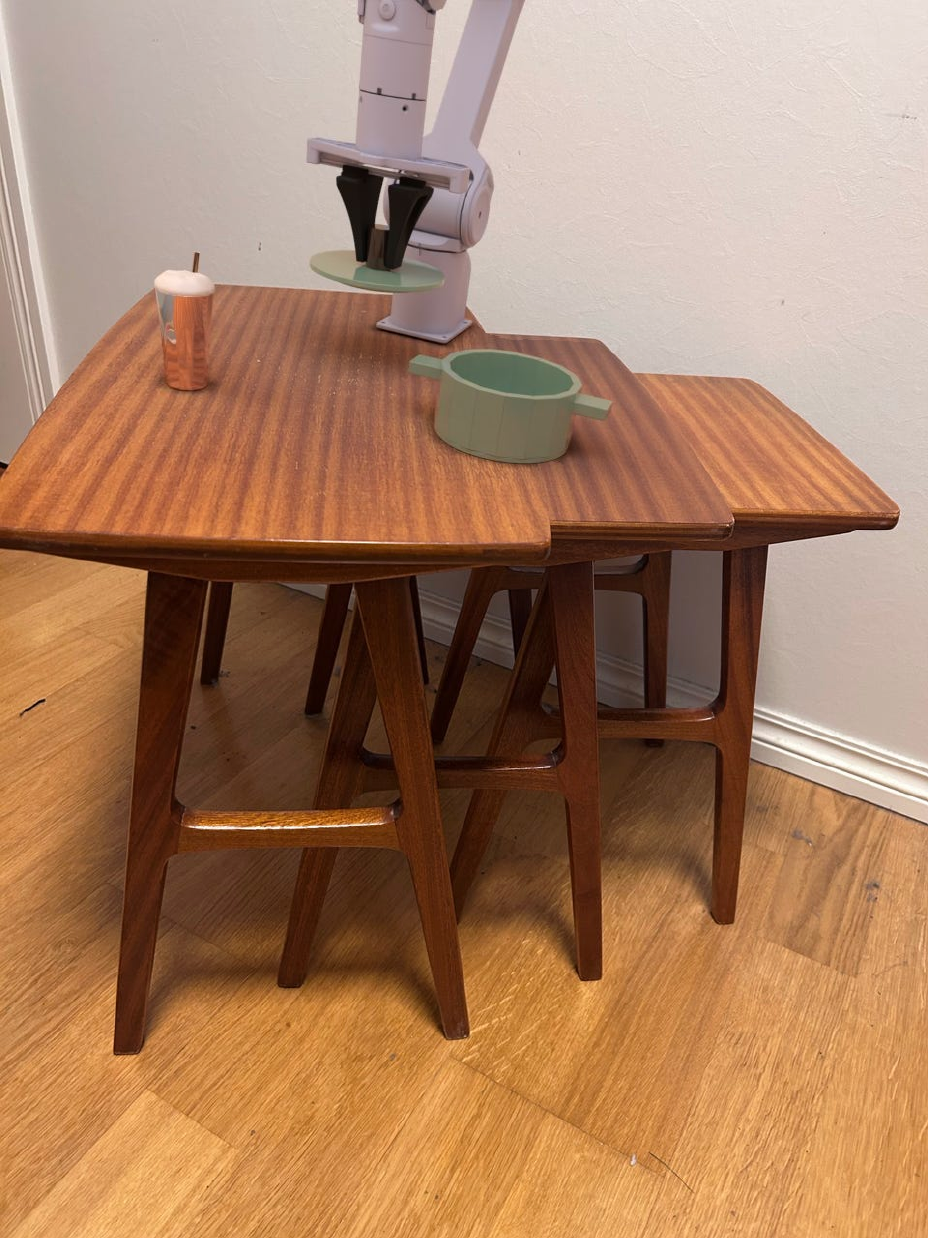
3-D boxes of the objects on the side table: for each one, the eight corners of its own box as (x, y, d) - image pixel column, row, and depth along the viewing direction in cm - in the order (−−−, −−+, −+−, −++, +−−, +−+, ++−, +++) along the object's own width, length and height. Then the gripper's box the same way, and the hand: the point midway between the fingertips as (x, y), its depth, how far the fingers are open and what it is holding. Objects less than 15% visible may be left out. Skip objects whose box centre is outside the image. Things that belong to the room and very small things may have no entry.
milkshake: (225, 376, 80) (225, 256, 74) (204, 397, 75) (202, 270, 70) (173, 367, 80) (169, 247, 74) (149, 387, 75) (143, 260, 70)
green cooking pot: (430, 392, 84) (438, 333, 81) (610, 437, 80) (624, 377, 77) (383, 431, 74) (389, 366, 71) (583, 484, 71) (598, 418, 68)
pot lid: (344, 255, 91) (347, 205, 89) (461, 282, 89) (468, 231, 86) (284, 276, 81) (286, 221, 79) (414, 307, 79) (420, 251, 76)
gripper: (292, 79, 75) (286, 253, 82) (458, 111, 72) (437, 288, 79) (330, 80, 81) (321, 242, 88) (485, 109, 78) (463, 274, 85)
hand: (378, 263), depth 84 cm, fingers closed on pot lid, 2 cm apart
